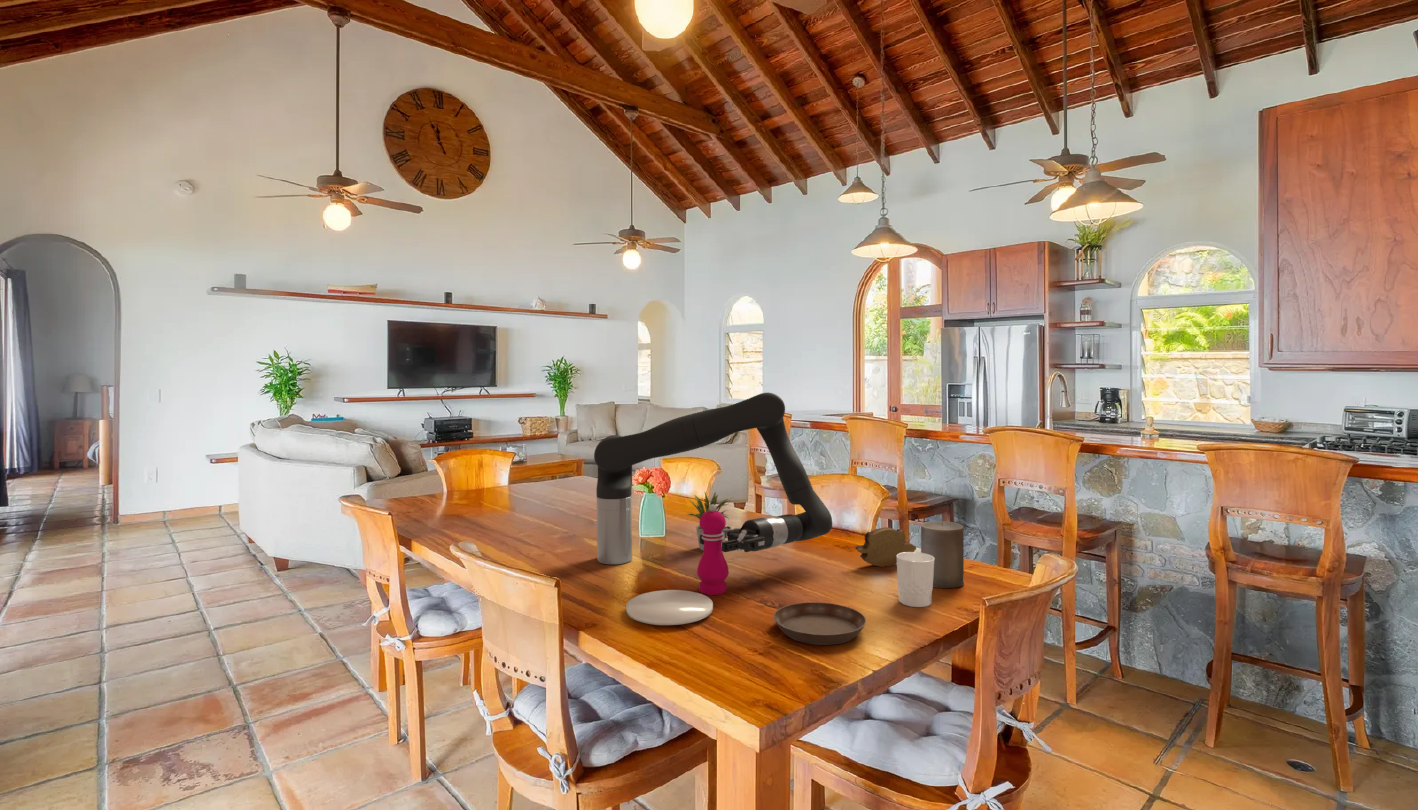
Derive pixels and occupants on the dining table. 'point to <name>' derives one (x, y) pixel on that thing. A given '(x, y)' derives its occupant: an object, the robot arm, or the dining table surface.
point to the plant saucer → (819, 622)
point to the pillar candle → (944, 551)
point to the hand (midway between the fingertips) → (711, 543)
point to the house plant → (702, 511)
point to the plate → (669, 607)
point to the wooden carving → (884, 546)
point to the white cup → (915, 578)
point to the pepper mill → (712, 554)
